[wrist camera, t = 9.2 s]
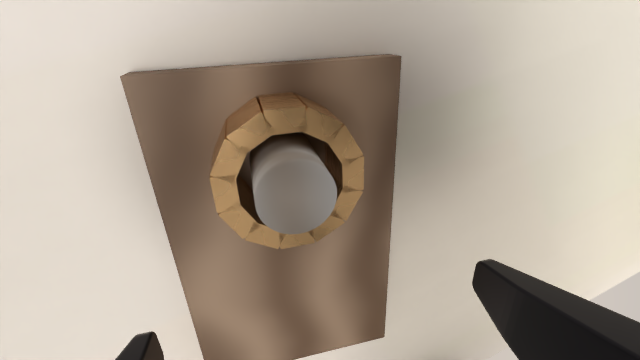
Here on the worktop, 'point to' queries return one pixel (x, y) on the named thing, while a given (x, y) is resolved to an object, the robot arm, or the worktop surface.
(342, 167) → the wooden ring
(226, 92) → the post board
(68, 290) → the worktop surface
